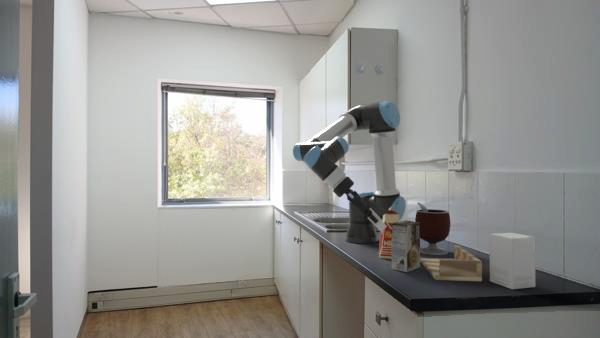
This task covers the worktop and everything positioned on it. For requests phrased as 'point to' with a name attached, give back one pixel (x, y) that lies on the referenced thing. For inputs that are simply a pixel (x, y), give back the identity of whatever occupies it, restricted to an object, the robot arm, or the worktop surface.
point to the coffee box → (405, 245)
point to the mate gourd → (433, 228)
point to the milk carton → (387, 234)
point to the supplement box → (512, 260)
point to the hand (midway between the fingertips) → (382, 226)
